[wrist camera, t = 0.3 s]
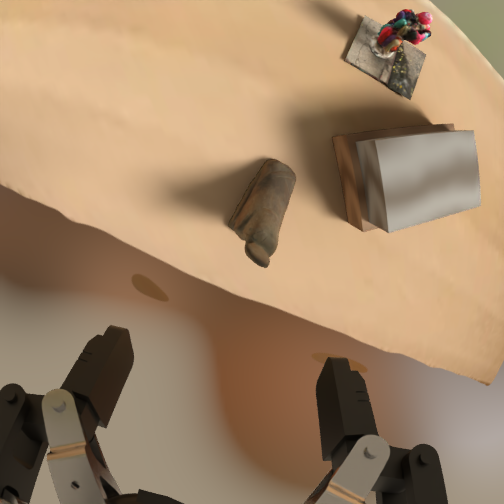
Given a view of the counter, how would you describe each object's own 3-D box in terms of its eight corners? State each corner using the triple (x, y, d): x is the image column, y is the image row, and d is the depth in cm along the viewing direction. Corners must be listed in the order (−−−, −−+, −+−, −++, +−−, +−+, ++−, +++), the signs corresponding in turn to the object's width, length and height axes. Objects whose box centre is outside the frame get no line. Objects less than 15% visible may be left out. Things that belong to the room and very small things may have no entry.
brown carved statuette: (252, 235, 41) (246, 311, 26) (223, 215, 40) (200, 284, 25) (302, 176, 36) (326, 226, 22) (271, 152, 35) (277, 188, 21)
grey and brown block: (331, 137, 35) (364, 132, 25) (433, 124, 35) (476, 122, 25) (348, 222, 39) (381, 243, 29) (443, 198, 38) (485, 211, 29)
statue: (341, 63, 33) (377, 18, 18) (361, 20, 30) (396, -29, 16) (406, 101, 33) (465, 79, 19) (422, 57, 31) (475, 26, 16)
